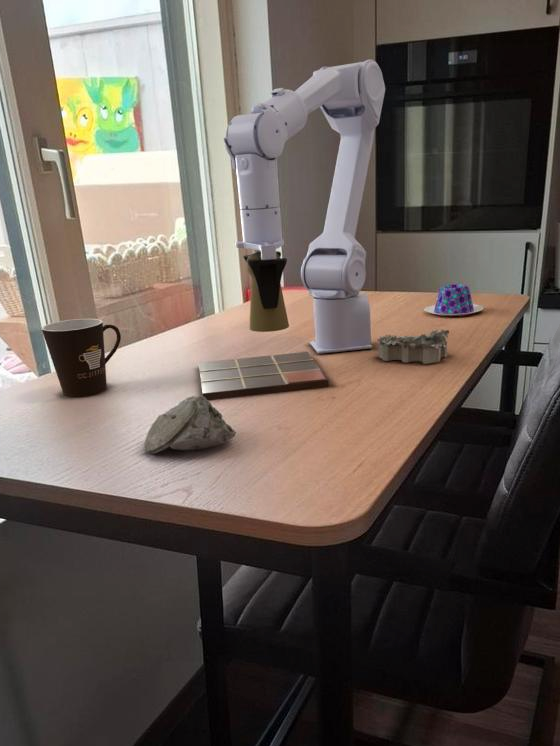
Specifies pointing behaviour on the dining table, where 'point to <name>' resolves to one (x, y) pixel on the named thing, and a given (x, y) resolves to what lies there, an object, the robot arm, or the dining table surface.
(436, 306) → the pudding
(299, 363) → the board
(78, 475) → the dining table surface
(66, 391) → the coffee mug
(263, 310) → the olive pawn
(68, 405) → the dining table surface
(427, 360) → the egg carton
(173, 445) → the fossilized seashell
